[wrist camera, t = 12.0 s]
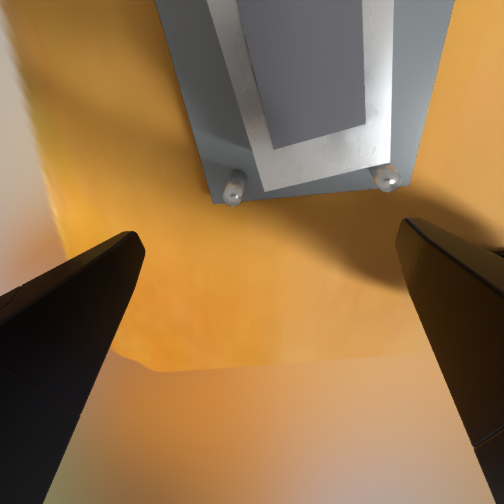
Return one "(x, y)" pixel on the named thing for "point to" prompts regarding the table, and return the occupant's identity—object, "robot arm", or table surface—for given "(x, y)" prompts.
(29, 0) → the table surface
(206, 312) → the table surface
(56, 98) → the table surface
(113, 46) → the table surface
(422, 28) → the pin tray
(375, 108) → the block
